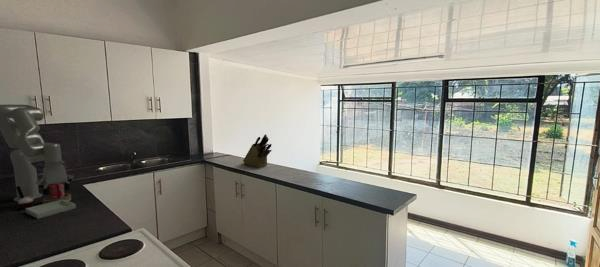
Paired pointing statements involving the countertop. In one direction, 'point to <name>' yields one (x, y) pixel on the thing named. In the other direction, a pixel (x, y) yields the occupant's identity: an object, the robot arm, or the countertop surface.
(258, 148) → the knife block
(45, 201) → the can holder
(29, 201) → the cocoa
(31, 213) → the tray
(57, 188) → the soda can
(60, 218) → the countertop surface
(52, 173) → the robot arm
